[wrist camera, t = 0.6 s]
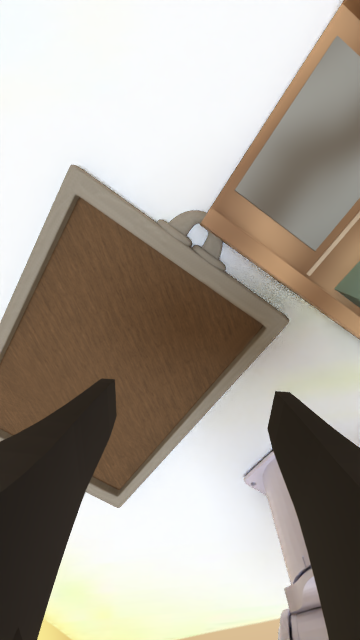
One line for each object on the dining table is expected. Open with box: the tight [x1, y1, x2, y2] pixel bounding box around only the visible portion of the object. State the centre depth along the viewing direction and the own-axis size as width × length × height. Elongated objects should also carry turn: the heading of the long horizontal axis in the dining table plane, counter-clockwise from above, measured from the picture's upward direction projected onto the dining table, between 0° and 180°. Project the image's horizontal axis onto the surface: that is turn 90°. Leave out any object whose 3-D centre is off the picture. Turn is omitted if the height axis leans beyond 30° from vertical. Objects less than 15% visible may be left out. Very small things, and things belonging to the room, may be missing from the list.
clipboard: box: [0, 165, 289, 508], centre depth 22 cm, size 19×2×30 cm
